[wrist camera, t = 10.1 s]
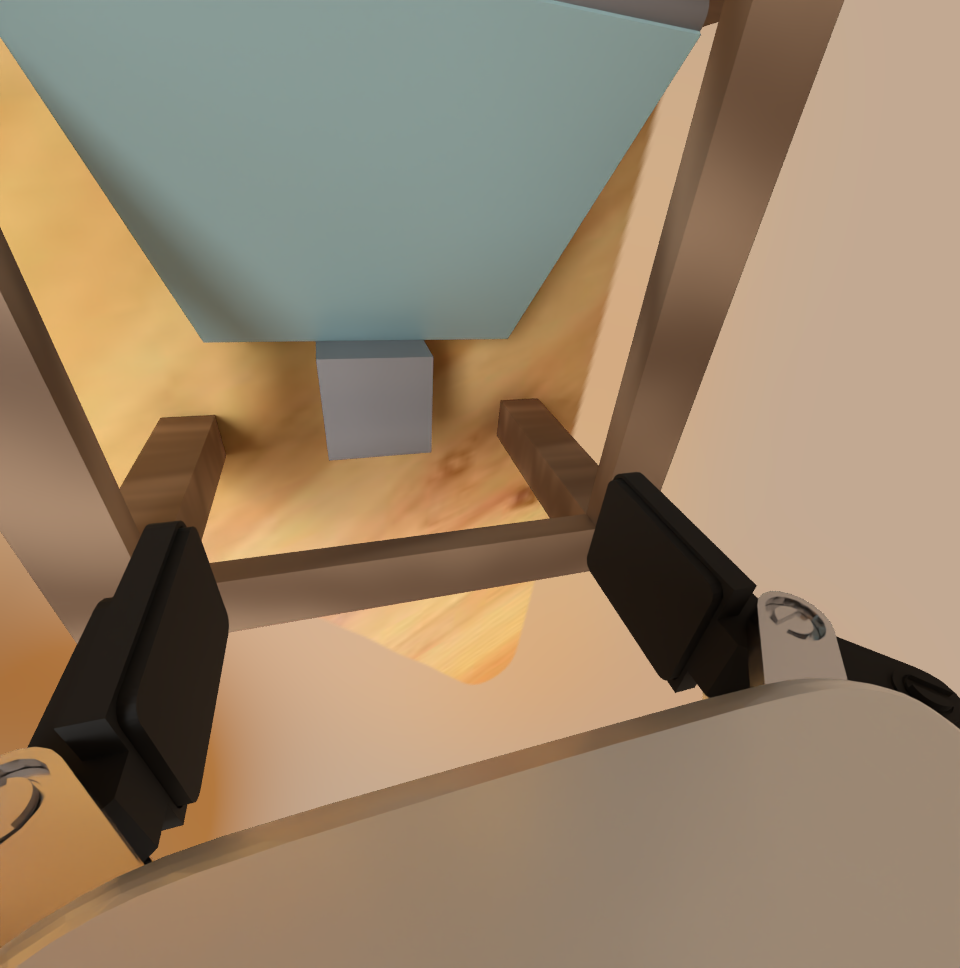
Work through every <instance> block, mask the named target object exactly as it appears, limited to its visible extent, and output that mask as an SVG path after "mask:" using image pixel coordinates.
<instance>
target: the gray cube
mask: <svg viewBox="0 0 960 968" xmlns="http://www.w3.org/2000/svg"><path fill="white" fill-rule="evenodd" d="M316 363H317V371H318V379H319V386H320V394H321V402H322V410H323V417H324V425H325V433H326V441H327V449H328V456H329V461H330V460H342V459H354V458H367V457H379V456H391V455H404V454H416V453H428V452H431V441H432V395H433V356H432V354H431V352H430V350H429V349H428V347H427V345H426V343H425V342H424V340H364V341H316Z"/></svg>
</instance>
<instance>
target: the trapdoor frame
mask: <svg viewBox="0 0 960 968" xmlns="http://www.w3.org/2000/svg"><path fill="white" fill-rule="evenodd" d="M843 2H844V0H709V9H708V14H707V17H706V20H705V22H704V25H703V27H704V26H707V25H710V24H713V23H716V22H718V26H717V30H716V33H715V37H714V41H713V45H712V48H711V52H710V56H709V60H708V63H707V67H706V71H705V75H704V78H703V82H702V85H701V89H700V93H699V97H698V100H697V104H696V108H695V111H694V115H693V119H692V122H691V126H690V130H689V134H688V137H687V141H686V145H685V149H684V152H683V156H682V160H681V163H680V167H679V171H678V174H677V178H676V182H675V186H674V190H673V193H672V197H671V200H670V204H669V208H668V211H667V215H666V219H665V223H664V226H663V230H662V234H661V238H660V241H659V245H658V249H657V253H656V256H655V260H654V264H653V267H652V271H651V275H650V278H649V282H648V286H647V290H646V293H645V297H644V300H643V305H642V308H641V312H640V315H639V319H638V323H637V326H636V330H635V334H634V338H633V341H632V345H631V349H630V352H629V356H628V360H627V364H626V367H625V371H624V375H623V378H622V382H621V386H620V390H619V393H618V397H617V401H616V405H615V408H614V412H613V415H612V420H611V423H610V427H609V430H608V434H607V438H606V442H605V445H604V449H603V453H602V456H601V460H600V464H599V466H598V465H597V463H595V461H594V460H593V459H592V458H591V457H590V456H589V455H588V454H587V452H585V450H584V449H583V448H582V447H581V446H580V445H579V444H578V443H577V441H576V440H575V439H574V438H573V437H572V436H571V435H570V434H569V433H568V432H567V430H566V429H565V428H564V427H563V426H562V425H561V424H560V423H559V422H558V420H557V419H556V418H555V417H554V416H553V415H552V414H551V413H550V412H549V411H548V409H547V408H546V407H545V406H544V405H543V404H542V403H541V402H540V401H539V400H538V399H522V400H502V401H501V404H500V412H499V421H498V430H497V437H498V438H499V440H500V441H501V443H502V445H503V446H504V448H505V449H506V451H507V452H508V454H509V455H510V457H511V459H512V460H513V462H514V463H515V465H516V466H517V468H518V469H519V471H520V472H521V474H522V476H523V477H524V479H525V480H526V482H527V483H528V485H529V486H530V488H531V490H532V491H533V493H534V494H535V496H536V497H537V499H538V500H539V502H540V504H541V505H542V507H543V508H544V510H545V511H546V513H547V514H548V516H549V518H550V519H543V520H535V521H528V522H520V523H512V524H505V525H497V526H489V527H482V528H474V529H467V530H459V531H451V532H444V533H436V534H428V535H421V536H413V537H406V538H398V539H390V540H383V541H375V542H367V543H360V544H352V545H345V546H337V547H329V548H322V549H314V550H306V551H299V552H291V553H284V554H276V555H268V556H261V557H253V558H245V559H238V560H230V561H223V562H215V563H209V564H210V566H211V569H212V572H213V575H214V578H215V580H216V583H217V586H218V589H219V591H220V594H221V597H222V600H223V603H224V605H225V608H226V611H227V614H228V619H229V632H234V631H240V630H246V629H252V628H257V627H264V626H270V625H275V624H281V623H287V622H293V621H298V620H305V619H311V618H317V617H322V616H328V615H334V614H340V613H346V612H352V611H358V610H364V609H369V608H375V607H381V606H387V605H393V604H399V603H405V602H411V601H416V600H422V599H428V598H434V597H440V596H446V595H452V594H457V593H463V592H469V591H475V590H481V589H487V588H493V587H499V586H504V585H510V584H516V583H522V582H528V581H534V580H540V579H546V578H551V577H557V576H563V575H569V574H575V573H581V572H586V571H590V570H589V568H588V565H587V555H588V551H589V548H590V544H591V541H592V537H593V534H594V530H595V527H596V524H597V520H598V517H599V513H600V510H601V506H602V503H603V500H604V496H605V493H606V489H607V486H608V483H609V482H610V481H612V480H613V479H614V477H615V476H616V475H617V474H622V473H631V472H640V473H642V474H643V475H644V476H645V477H646V478H647V479H648V480H649V481H650V482H651V483H652V484H653V485H654V486H656V487H657V488H658V489H659V490H660V491H661V488H662V485H663V483H664V480H665V477H666V474H667V472H668V469H669V467H670V464H671V461H672V459H673V456H674V453H675V451H676V448H677V445H678V443H679V440H680V437H681V435H682V432H683V429H684V427H685V424H686V421H687V419H688V416H689V413H690V411H691V408H692V405H693V403H694V400H695V397H696V395H697V392H698V389H699V387H700V384H701V381H702V378H703V376H704V373H705V371H706V368H707V365H708V362H709V360H710V357H711V355H712V352H713V349H714V347H715V344H716V341H717V339H718V336H719V333H720V330H721V328H722V325H723V322H724V320H725V317H726V314H727V312H728V309H729V307H730V304H731V301H732V298H733V296H734V293H735V290H736V288H737V285H738V282H739V280H740V277H741V274H742V272H743V269H744V266H745V263H746V261H747V258H748V255H749V253H750V250H751V247H752V245H753V242H754V240H755V237H756V234H757V232H758V229H759V226H760V224H761V221H762V218H763V216H764V213H765V210H766V207H767V205H768V202H769V200H770V197H771V194H772V192H773V189H774V186H775V184H776V181H777V178H778V176H779V173H780V170H781V168H782V165H783V162H784V160H785V157H786V154H787V152H788V149H789V146H790V144H791V141H792V138H793V136H794V133H795V130H796V128H797V125H798V122H799V119H800V117H801V114H802V112H803V109H804V106H805V104H806V101H807V98H808V96H809V93H810V90H811V88H812V85H813V82H814V80H815V77H816V74H817V71H818V69H819V66H820V63H821V61H822V58H823V56H824V53H825V50H826V48H827V44H828V42H829V39H830V37H831V34H832V31H833V29H834V26H835V23H836V21H837V18H838V15H839V13H840V10H841V7H842V5H843ZM225 458H226V453H225V450H224V446H223V443H222V439H221V435H220V432H219V428H218V425H217V421H216V417H215V415H210V416H191V417H171V418H160V420H159V421H158V423H157V425H156V427H155V428H154V430H153V432H152V434H151V435H150V437H149V439H148V440H147V442H146V444H145V446H144V447H143V449H142V451H141V453H140V454H139V456H138V458H137V459H136V461H135V463H134V465H133V466H132V468H131V470H130V472H129V473H128V475H127V477H126V478H125V480H124V482H123V484H122V485H121V487H120V489H119V487H118V485H117V483H116V481H115V478H114V476H113V474H112V472H111V470H110V467H109V465H108V463H107V461H106V459H105V456H104V454H103V452H102V450H101V448H100V445H99V443H98V441H97V439H96V437H95V434H94V432H93V430H92V428H91V426H90V423H89V421H88V419H87V417H86V415H85V412H84V410H83V408H82V406H81V404H80V401H79V399H78V397H77V395H76V393H75V391H74V388H73V386H72V384H71V382H70V380H69V377H68V375H67V373H66V371H65V369H64V366H63V364H62V362H61V360H60V358H59V355H58V353H57V351H56V349H55V347H54V344H53V342H52V340H51V338H50V336H49V333H48V331H47V329H46V327H45V325H44V322H43V320H42V318H41V316H40V314H39V311H38V309H37V307H36V305H35V303H34V300H33V298H32V296H31V294H30V292H29V290H28V287H27V285H26V283H25V281H24V279H23V276H22V274H21V272H20V270H19V268H18V265H17V263H16V261H15V259H14V257H13V254H12V252H11V250H10V248H9V246H8V243H7V241H6V239H5V237H4V235H3V232H2V230H1V228H0V532H1V533H2V535H3V536H4V538H5V539H6V541H7V542H8V543H9V545H10V547H11V548H12V549H13V551H14V552H15V554H16V555H17V557H18V558H19V559H20V561H21V563H22V564H23V566H24V567H25V568H26V570H27V571H28V573H29V574H30V576H31V577H32V579H33V580H34V582H35V583H36V585H37V586H38V588H39V589H40V591H41V592H42V593H43V595H44V596H45V598H46V599H47V601H48V602H49V604H50V605H51V607H52V608H53V609H54V611H55V612H56V614H57V615H58V617H59V618H60V620H61V621H62V623H63V624H64V626H65V627H66V629H67V630H68V631H69V633H70V634H71V636H72V637H73V639H74V640H75V642H76V643H77V644H78V642H79V639H80V637H81V635H82V633H83V631H84V629H85V627H86V625H87V623H88V621H89V619H90V617H91V615H92V613H93V610H94V609H95V607H96V606H97V604H98V603H99V602H100V601H101V600H103V599H104V598H110V597H113V596H114V594H115V592H116V590H117V587H118V585H119V583H120V581H121V578H122V576H123V574H124V572H125V570H126V567H127V565H128V563H129V561H130V559H131V556H132V554H133V552H134V550H135V547H136V545H137V543H138V541H139V539H140V536H141V534H142V532H143V530H144V528H145V526H146V525H148V524H152V523H161V522H170V521H180V520H181V521H183V522H184V523H185V524H186V526H187V527H192V526H194V527H196V529H197V531H198V533H199V536H200V538H201V541H202V537H203V534H204V530H205V527H206V523H207V520H208V516H209V513H210V510H211V506H212V503H213V499H214V496H215V492H216V489H217V485H218V482H219V479H220V475H221V472H222V468H223V465H224V461H225ZM229 632H228V633H229Z"/></svg>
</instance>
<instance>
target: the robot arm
mask: <svg viewBox="0 0 960 968" xmlns="http://www.w3.org/2000/svg"><path fill="white" fill-rule="evenodd" d="M587 565H588V568H589V570H590V572H591V574H592V575H593V576H594V578H595V579H596V581H597V583H598V584H599V586H600V587H601V589H602V590H603V592H604V593H605V595H606V596H607V598H608V599H609V601H610V602H611V604H612V605H613V607H614V608H615V610H616V611H617V613H618V614H619V616H620V618H621V619H622V621H623V622H624V624H625V625H626V627H627V628H628V630H629V631H630V633H631V634H632V636H633V637H634V639H635V640H636V642H637V643H638V645H639V646H640V648H641V649H642V651H643V652H644V654H645V656H646V657H647V659H648V660H649V662H650V663H651V665H652V666H653V668H654V669H655V671H656V672H657V674H658V675H659V676H660V677H661V678H662V679H663V680H667V681H668V683H669V684H670V686H671V687H672V689H673V690H674V691H675V693H676V692H680V691H684V690H687V689H691V688H695V686H696V684H698V686H699V687H700V689H701V690H702V691H703V700H701V701H697V702H693V703H689V704H686V705H682V706H678V707H675V708H671V709H668V710H664V711H660V712H656V713H653V714H649V715H645V716H642V717H639V718H635V719H631V720H627V721H624V722H620V723H616V724H613V725H609V726H606V727H602V728H598V729H595V730H591V731H587V732H584V733H580V734H576V735H573V736H569V737H566V738H562V739H558V740H555V741H551V742H548V743H544V744H541V745H537V746H533V747H530V748H526V749H523V750H519V751H516V752H512V753H509V754H505V755H501V756H498V757H494V758H491V759H487V760H484V761H480V762H476V763H473V764H469V765H465V766H462V767H458V768H455V769H452V770H448V771H444V772H441V773H437V774H434V775H430V776H427V777H423V778H420V779H416V780H413V781H409V782H406V783H402V784H399V785H396V786H392V787H388V788H385V789H381V790H377V791H374V792H370V793H367V794H363V795H360V796H356V797H353V798H350V799H346V800H342V801H339V802H335V803H332V804H328V805H325V806H321V807H318V808H315V809H311V810H308V811H305V812H302V813H298V814H295V815H292V816H289V817H285V818H282V819H278V820H275V821H272V822H269V823H265V824H262V825H258V826H255V827H252V828H249V829H245V830H242V831H239V832H235V833H232V834H229V835H226V836H222V837H219V838H216V839H214V840H211V841H208V842H205V843H202V844H199V845H196V846H194V847H191V848H188V849H185V850H182V851H179V852H176V853H173V854H171V855H168V856H165V857H162V858H161V859H158V860H156V861H154V860H153V858H152V857H151V856H150V855H151V854H152V853H153V852H154V851H155V850H156V849H157V848H158V844H159V839H160V835H161V831H163V830H166V829H170V828H174V827H177V826H181V825H183V824H184V818H185V813H186V809H187V804H190V803H194V802H196V801H197V799H198V796H199V793H200V789H201V784H202V778H203V772H204V767H205V761H206V755H207V750H208V744H209V739H210V733H211V728H212V722H213V716H214V711H215V705H216V699H217V694H218V688H219V683H220V677H221V672H222V666H223V660H224V655H225V649H226V643H227V638H228V632H229V619H228V614H227V611H226V608H225V605H224V603H223V600H222V597H221V594H220V591H219V589H218V586H217V583H216V580H215V578H214V575H213V572H212V569H211V566H210V564H209V561H208V558H207V555H206V552H205V550H204V547H203V544H202V541H201V538H200V536H199V533H198V531H197V529H196V527H194V526H192V527H187V526H186V524H185V523H184V522H183V521H181V520H180V521H170V522H161V523H152V524H148V525H146V526H145V528H144V530H143V532H142V534H141V536H140V539H139V541H138V543H137V545H136V547H135V550H134V552H133V554H132V556H131V559H130V561H129V563H128V565H127V567H126V570H125V572H124V574H123V576H122V578H121V581H120V583H119V585H118V587H117V590H116V592H115V594H114V596H113V597H110V598H104V599H103V600H101V601H100V602H99V603H98V604H97V606H96V607H95V609H94V610H93V613H92V615H91V617H90V619H89V621H88V623H87V625H86V627H85V629H84V631H83V633H82V635H81V637H80V639H79V642H78V644H77V646H76V648H75V650H74V652H73V654H72V656H71V658H70V661H69V663H68V665H67V666H66V669H65V671H64V673H63V675H62V677H61V679H60V681H59V683H58V685H57V687H56V689H55V692H54V693H53V696H52V698H51V700H50V702H49V704H48V706H47V708H46V710H45V712H44V715H43V717H42V718H41V721H40V722H39V725H38V727H37V729H36V731H35V733H34V735H33V737H32V739H31V741H30V744H29V745H28V747H27V748H24V749H17V750H14V751H11V752H8V753H6V754H3V755H1V756H0V968H960V698H959V697H958V696H957V694H956V693H955V692H953V691H952V690H951V689H950V688H949V687H948V686H947V685H946V684H944V683H943V682H942V681H940V680H939V679H937V678H935V677H933V676H932V675H930V674H928V673H926V672H924V671H922V670H920V669H918V668H916V667H913V666H910V665H908V664H906V663H903V662H900V661H898V660H895V659H892V658H890V657H888V656H885V655H882V654H880V653H877V652H875V651H872V650H870V649H867V648H864V647H862V646H859V645H856V644H854V643H852V642H849V641H846V640H844V639H841V638H839V637H836V635H835V631H834V629H833V627H832V624H831V623H830V621H829V620H828V619H827V617H826V616H825V615H824V614H823V613H822V612H821V611H820V610H818V609H817V608H816V607H815V606H814V605H812V604H810V603H809V602H807V601H805V600H804V599H801V598H799V597H797V596H794V595H792V594H788V593H784V592H780V591H770V592H766V593H763V594H762V595H761V596H760V597H759V598H757V597H756V596H755V595H754V594H753V591H754V589H755V587H756V584H755V583H754V582H753V581H751V580H750V579H749V578H748V577H747V576H746V575H745V574H744V573H743V572H742V571H741V570H740V569H739V568H738V567H737V566H736V565H735V564H734V563H733V562H732V561H731V560H730V559H729V558H728V557H727V556H726V555H725V554H724V553H723V552H722V551H721V550H720V549H719V548H718V547H717V546H716V545H715V544H714V543H712V541H710V539H709V538H707V536H706V535H704V534H703V533H702V532H701V531H700V530H699V529H698V528H697V527H696V526H695V525H694V524H693V523H692V522H691V521H690V520H689V519H688V518H687V517H686V516H685V515H684V514H683V513H682V512H681V511H680V510H679V509H678V508H677V507H676V506H675V505H674V504H673V503H672V502H671V501H670V500H669V499H668V498H667V497H666V496H665V495H664V494H663V493H662V492H661V491H660V490H659V489H658V488H657V487H656V486H654V485H653V484H652V483H651V482H650V481H649V480H648V479H647V478H646V477H645V476H644V475H643V474H642V473H640V472H631V473H622V474H617V475H616V476H615V477H614V479H613V480H612V481H610V482H609V483H608V486H607V489H606V493H605V496H604V500H603V503H602V506H601V510H600V513H599V517H598V520H597V524H596V527H595V530H594V534H593V537H592V541H591V544H590V548H589V551H588V555H587Z"/></svg>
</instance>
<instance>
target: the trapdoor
mask: <svg viewBox="0 0 960 968" xmlns="http://www.w3.org/2000/svg"><path fill="white" fill-rule="evenodd" d="M708 9H709V0H0V37H1V39H2V40H3V42H4V43H5V45H6V46H7V48H8V49H9V51H10V52H11V54H12V55H13V57H14V58H15V60H16V61H17V63H18V64H19V66H20V67H21V69H22V70H23V72H24V73H25V75H26V76H27V78H28V79H29V81H30V82H31V84H32V85H33V87H34V88H35V90H36V91H37V93H38V94H39V96H40V97H41V99H42V100H43V102H44V103H45V105H46V106H47V108H48V109H49V111H50V112H51V114H52V115H53V117H54V118H55V120H56V121H57V123H58V124H59V126H60V127H61V129H62V130H63V132H64V133H65V135H66V136H67V138H68V139H69V141H70V142H71V144H72V145H73V147H74V148H75V150H76V151H77V153H78V154H79V156H80V157H81V159H82V160H83V162H84V163H85V165H86V166H87V168H88V169H89V171H90V172H91V174H92V175H93V177H94V178H95V180H96V181H97V183H98V184H99V186H100V187H101V189H102V190H103V192H104V193H105V195H106V196H107V198H108V199H109V201H110V202H111V204H112V205H113V207H114V208H115V210H116V211H117V213H118V214H119V216H120V217H121V219H122V220H123V222H124V223H125V225H126V226H127V228H128V229H129V231H130V232H131V234H132V236H133V237H134V239H135V240H136V242H137V243H138V245H139V246H140V248H141V249H142V251H143V252H144V254H145V255H146V257H147V258H148V260H149V261H150V263H151V264H152V266H153V267H154V269H155V270H156V272H157V273H158V275H159V276H160V278H161V279H162V281H163V282H164V284H165V285H166V287H167V288H168V290H169V291H170V293H171V294H172V296H173V297H174V299H175V300H176V302H177V303H178V305H179V306H180V308H181V309H182V311H183V312H184V314H185V315H186V317H187V318H188V320H189V321H190V323H191V324H192V326H193V327H194V329H195V330H196V332H197V333H198V335H199V336H200V338H201V339H202V341H203V342H280V341H364V340H449V339H508V337H509V336H510V334H511V333H512V331H513V330H514V328H515V326H516V325H517V323H518V322H519V320H520V319H521V317H522V315H523V314H524V312H525V311H526V309H527V308H528V306H529V304H530V303H531V301H532V300H533V298H534V297H535V295H536V293H537V292H538V290H539V289H540V287H541V286H542V284H543V282H544V281H545V279H546V278H547V276H548V275H549V273H550V271H551V270H552V268H553V267H554V265H555V264H556V262H557V260H558V259H559V257H560V256H561V254H562V253H563V251H564V249H565V248H566V246H567V245H568V243H569V242H570V240H571V238H572V237H573V235H574V234H575V232H576V231H577V229H578V227H579V226H580V224H581V223H582V221H583V219H584V218H585V216H586V215H587V213H588V212H589V210H590V208H591V207H592V205H593V204H594V202H595V201H596V199H597V197H598V196H599V194H600V193H601V191H602V190H603V188H604V186H605V185H606V183H607V182H608V180H609V179H610V177H611V175H612V174H613V172H614V171H615V169H616V168H617V166H618V164H619V163H620V161H621V160H622V158H623V157H624V155H625V153H626V152H627V150H628V149H629V147H630V146H631V144H632V142H633V141H634V139H635V138H636V136H637V135H638V133H639V131H640V130H641V128H642V127H643V125H644V124H645V122H646V120H647V119H648V117H649V116H650V114H651V113H652V111H653V109H654V108H655V106H656V105H657V103H658V102H659V100H660V98H661V97H662V95H663V94H664V92H665V91H666V89H667V87H668V86H669V84H670V83H671V81H672V80H673V78H674V76H675V75H676V73H677V72H678V70H679V69H680V67H681V65H682V64H683V62H684V61H685V59H686V58H687V56H688V54H689V53H690V51H691V50H692V48H693V47H694V45H695V43H696V42H697V40H698V39H699V37H700V35H701V34H700V30H701V29H702V27H703V25H704V22H705V20H706V17H707V14H708Z"/></svg>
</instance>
